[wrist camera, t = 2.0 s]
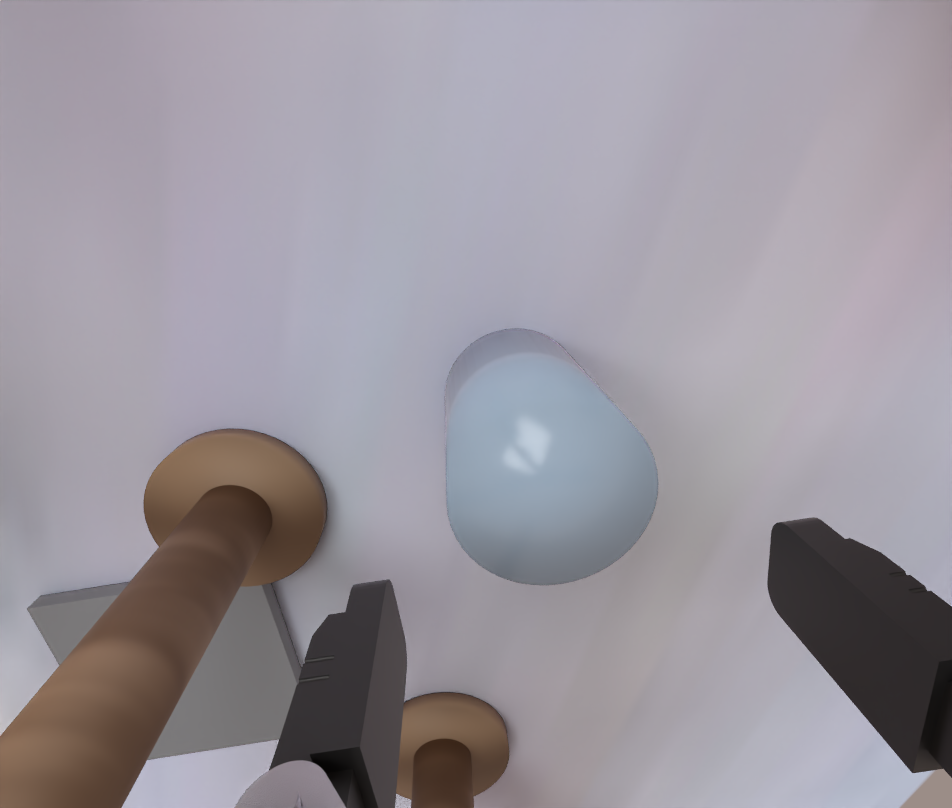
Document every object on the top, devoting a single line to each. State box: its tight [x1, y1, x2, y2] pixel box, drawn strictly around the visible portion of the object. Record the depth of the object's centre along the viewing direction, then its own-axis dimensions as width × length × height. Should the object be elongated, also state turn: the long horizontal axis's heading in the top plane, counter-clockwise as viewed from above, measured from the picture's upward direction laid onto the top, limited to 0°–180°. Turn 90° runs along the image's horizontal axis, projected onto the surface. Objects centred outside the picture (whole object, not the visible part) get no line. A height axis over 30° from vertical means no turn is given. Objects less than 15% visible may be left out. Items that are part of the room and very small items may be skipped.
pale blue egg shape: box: [445, 329, 658, 585], centre depth 17 cm, size 6×6×8 cm
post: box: [0, 429, 327, 808], centre depth 13 cm, size 7×7×18 cm
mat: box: [27, 582, 301, 760], centre depth 24 cm, size 10×10×1 cm
